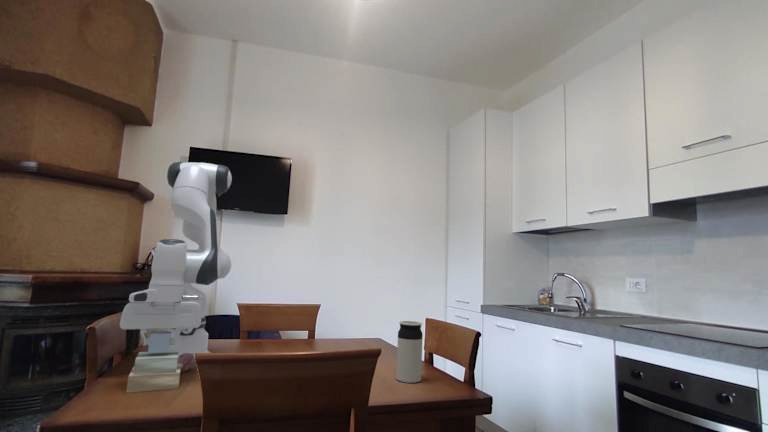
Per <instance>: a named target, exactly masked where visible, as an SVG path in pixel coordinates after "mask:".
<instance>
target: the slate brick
mask: <svg viewBox="0 0 768 432" xmlns="http://www.w3.org/2000/svg"><path fill="white" fill-rule="evenodd" d="M149 338H150V340H149V346H148V349H147V352H148V353H161V352H169V346H170V338H171V331H168V330H159V331H157V330H156V331H153V330H152V331H150V333H149Z"/></svg>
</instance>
